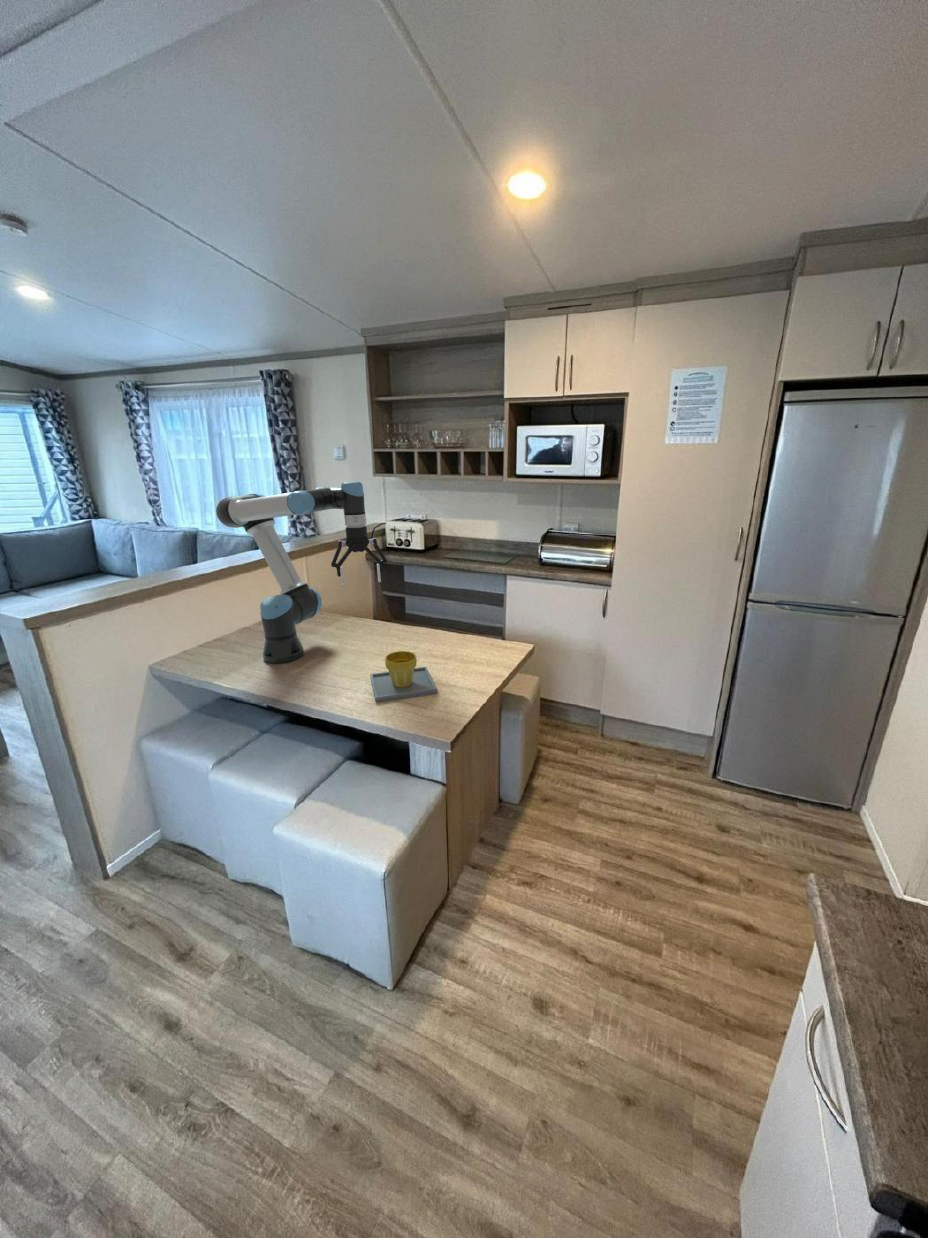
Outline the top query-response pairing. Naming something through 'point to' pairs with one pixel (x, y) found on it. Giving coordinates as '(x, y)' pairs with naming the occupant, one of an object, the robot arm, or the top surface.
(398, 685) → the plant pot
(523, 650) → the top surface
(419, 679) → the charcoal tray
